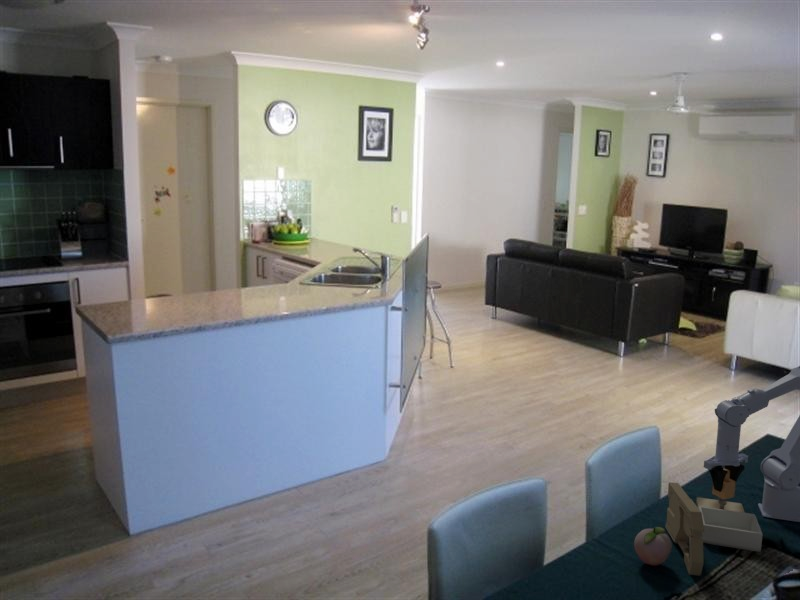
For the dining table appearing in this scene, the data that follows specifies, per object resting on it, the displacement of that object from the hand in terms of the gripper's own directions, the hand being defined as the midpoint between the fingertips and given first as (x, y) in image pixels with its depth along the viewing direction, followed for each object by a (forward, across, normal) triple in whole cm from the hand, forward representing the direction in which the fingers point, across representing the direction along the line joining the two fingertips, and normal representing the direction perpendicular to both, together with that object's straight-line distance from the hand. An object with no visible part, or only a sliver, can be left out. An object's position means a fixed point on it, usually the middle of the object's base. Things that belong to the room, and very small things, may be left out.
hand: (723, 488), depth 187 cm
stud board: (+8, 0, 0) cm, 8 cm away
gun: (+8, -25, -11) cm, 28 cm away
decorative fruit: (+8, -37, -13) cm, 40 cm away
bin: (+8, -8, -10) cm, 15 cm away
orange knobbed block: (+2, 0, 0) cm, 2 cm away
